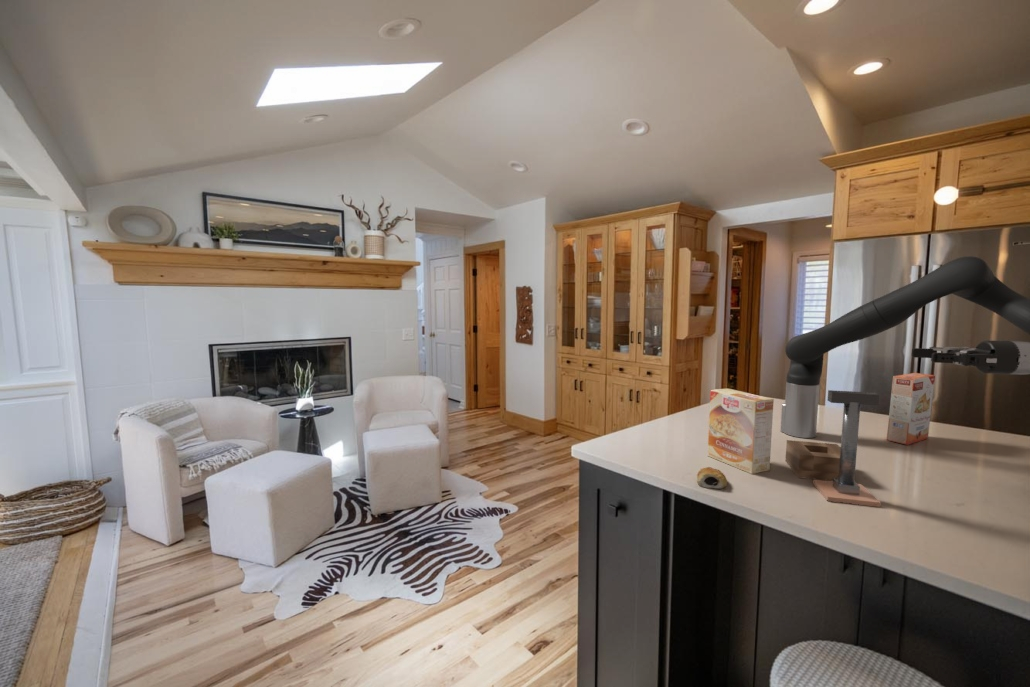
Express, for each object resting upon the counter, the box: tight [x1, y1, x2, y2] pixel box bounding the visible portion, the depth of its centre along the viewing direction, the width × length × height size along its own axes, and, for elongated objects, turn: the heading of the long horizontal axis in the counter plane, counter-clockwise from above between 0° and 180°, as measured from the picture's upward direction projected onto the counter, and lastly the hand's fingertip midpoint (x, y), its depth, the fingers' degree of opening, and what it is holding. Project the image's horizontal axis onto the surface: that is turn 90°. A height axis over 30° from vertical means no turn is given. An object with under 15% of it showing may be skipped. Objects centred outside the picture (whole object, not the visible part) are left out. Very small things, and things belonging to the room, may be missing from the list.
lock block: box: [785, 439, 841, 482], centre depth 120 cm, size 12×12×6 cm
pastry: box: [696, 466, 728, 490], centre depth 114 cm, size 9×7×4 cm
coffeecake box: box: [707, 388, 775, 475], centre depth 125 cm, size 15×7×20 cm, turn 23°
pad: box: [812, 479, 882, 508], centre depth 106 cm, size 10×10×1 cm
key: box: [827, 389, 880, 495], centre depth 105 cm, size 9×4×23 cm, turn 73°
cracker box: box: [886, 372, 936, 446], centre depth 144 cm, size 14×6×21 cm, turn 118°
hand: (922, 355), depth 108 cm, fingers open, 8 cm apart
